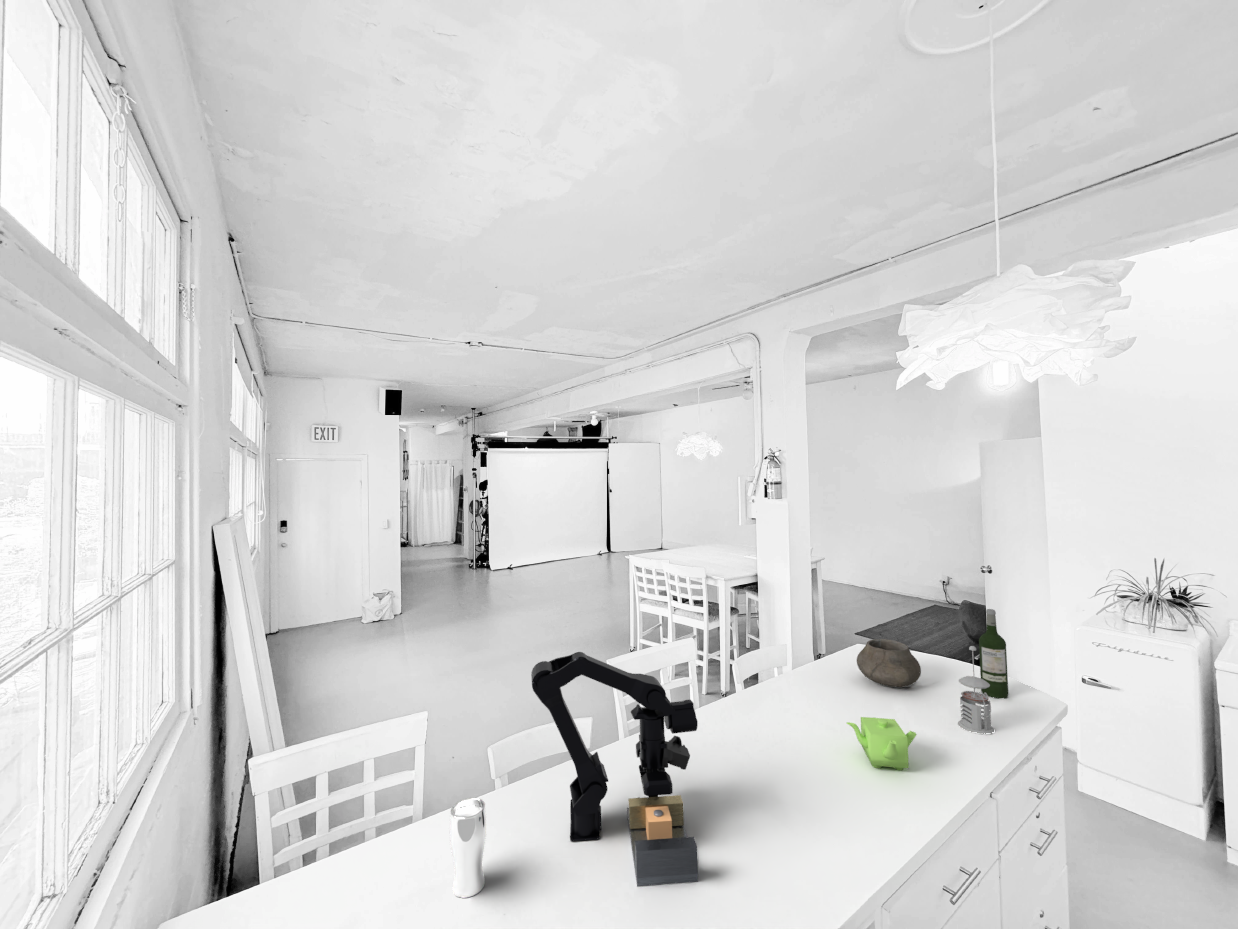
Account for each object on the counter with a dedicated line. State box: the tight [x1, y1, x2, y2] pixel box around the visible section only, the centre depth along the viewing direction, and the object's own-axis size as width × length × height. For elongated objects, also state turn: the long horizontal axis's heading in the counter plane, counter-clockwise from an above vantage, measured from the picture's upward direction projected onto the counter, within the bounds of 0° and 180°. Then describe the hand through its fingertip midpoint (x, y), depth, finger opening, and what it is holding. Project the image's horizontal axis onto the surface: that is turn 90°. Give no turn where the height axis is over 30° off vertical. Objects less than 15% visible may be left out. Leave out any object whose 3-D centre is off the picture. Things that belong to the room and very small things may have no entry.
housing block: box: [646, 806, 672, 840], centre depth 112 cm, size 5×5×5 cm
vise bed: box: [626, 807, 699, 887], centre depth 112 cm, size 12×22×7 cm, turn 4°
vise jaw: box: [627, 794, 685, 829], centre depth 116 cm, size 12×3×5 cm, turn 94°
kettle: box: [846, 716, 918, 771], centre depth 143 cm, size 15×14×11 cm
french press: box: [957, 645, 995, 735], centre depth 161 cm, size 10×12×25 cm
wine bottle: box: [978, 608, 1009, 699], centre depth 185 cm, size 8×8×30 cm
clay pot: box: [856, 638, 922, 688], centre depth 197 cm, size 22×21×15 cm
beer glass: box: [449, 797, 487, 899], centre depth 101 cm, size 7×7×15 cm
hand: (653, 803), depth 120 cm, fingers closed
